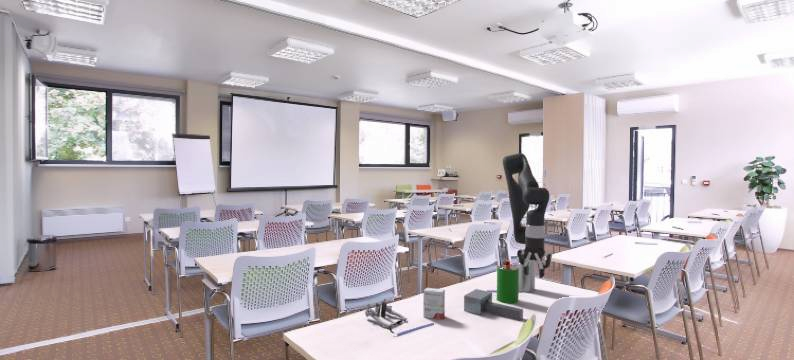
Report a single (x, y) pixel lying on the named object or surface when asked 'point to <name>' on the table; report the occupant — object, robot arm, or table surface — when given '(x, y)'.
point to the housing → (476, 301)
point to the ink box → (434, 303)
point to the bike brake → (383, 314)
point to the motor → (507, 284)
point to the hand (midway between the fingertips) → (534, 276)
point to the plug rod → (503, 310)
